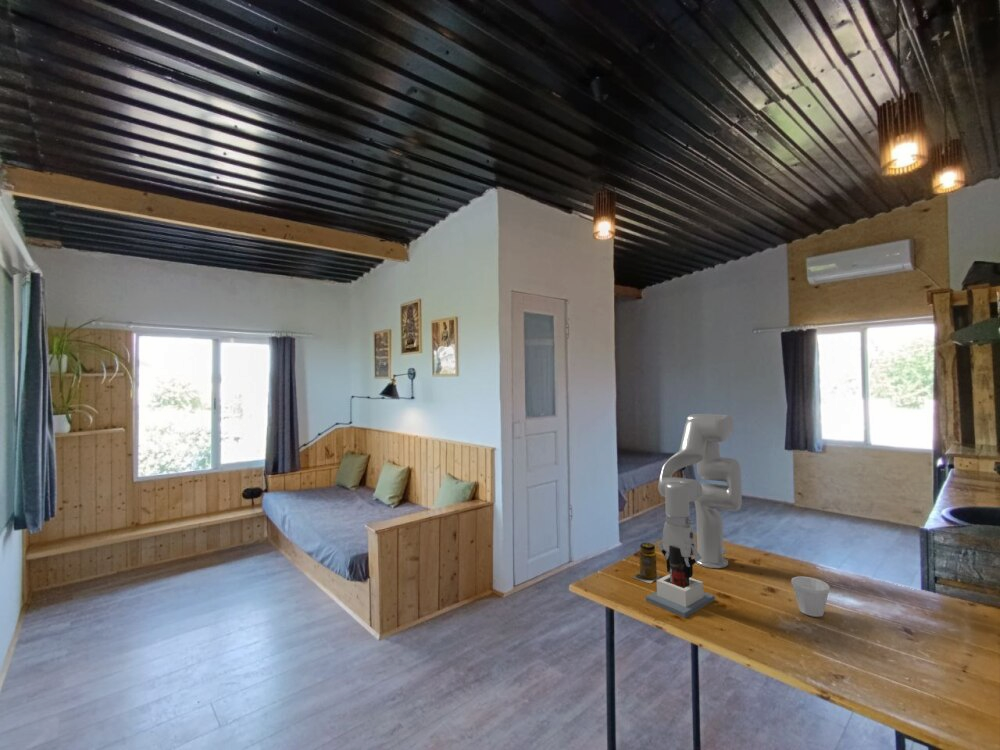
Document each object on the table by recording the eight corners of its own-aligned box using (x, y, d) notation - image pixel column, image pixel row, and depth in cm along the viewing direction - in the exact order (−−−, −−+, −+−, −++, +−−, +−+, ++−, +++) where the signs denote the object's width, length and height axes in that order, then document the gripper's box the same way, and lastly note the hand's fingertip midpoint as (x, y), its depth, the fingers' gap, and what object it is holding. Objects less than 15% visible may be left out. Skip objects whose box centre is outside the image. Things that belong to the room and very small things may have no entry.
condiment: (661, 576, 170) (660, 544, 170) (650, 584, 164) (649, 550, 164) (643, 571, 175) (642, 540, 175) (632, 578, 169) (631, 545, 169)
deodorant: (666, 588, 153) (665, 543, 153) (680, 585, 155) (679, 541, 155) (679, 596, 147) (677, 549, 147) (693, 592, 149) (692, 547, 150)
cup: (837, 622, 135) (836, 591, 135) (800, 619, 137) (799, 589, 137) (821, 606, 145) (820, 577, 145) (786, 603, 147) (785, 575, 147)
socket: (676, 585, 162) (675, 567, 162) (714, 600, 151) (713, 580, 151) (646, 601, 151) (645, 581, 151) (684, 617, 140) (683, 596, 140)
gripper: (708, 523, 147) (710, 579, 146) (661, 512, 161) (663, 563, 160) (695, 528, 142) (697, 586, 142) (648, 516, 156) (650, 569, 156)
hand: (679, 573), depth 151 cm, fingers closed on deodorant, 5 cm apart
